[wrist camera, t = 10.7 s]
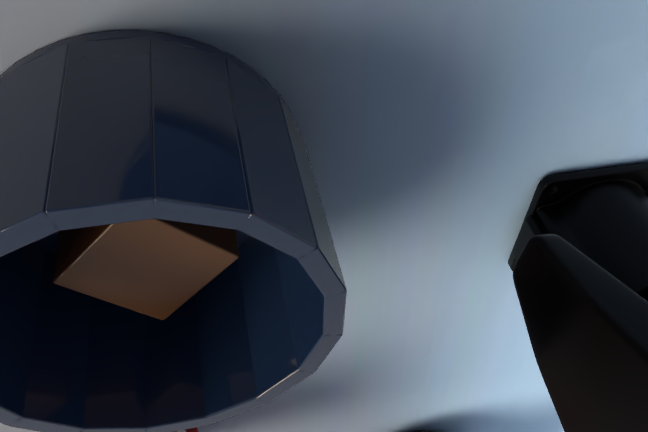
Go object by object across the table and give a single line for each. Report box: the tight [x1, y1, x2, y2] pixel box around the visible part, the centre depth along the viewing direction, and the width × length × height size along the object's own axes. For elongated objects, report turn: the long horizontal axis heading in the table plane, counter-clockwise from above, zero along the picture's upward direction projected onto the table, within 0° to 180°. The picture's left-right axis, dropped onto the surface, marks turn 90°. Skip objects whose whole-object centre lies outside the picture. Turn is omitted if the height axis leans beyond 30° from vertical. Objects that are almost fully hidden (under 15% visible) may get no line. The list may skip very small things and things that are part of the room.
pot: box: [0, 30, 347, 432], centre depth 20 cm, size 12×12×8 cm
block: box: [53, 219, 239, 320], centre depth 21 cm, size 4×4×4 cm
